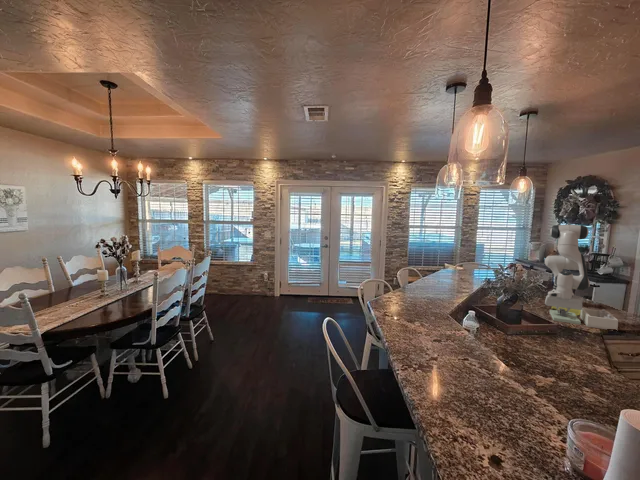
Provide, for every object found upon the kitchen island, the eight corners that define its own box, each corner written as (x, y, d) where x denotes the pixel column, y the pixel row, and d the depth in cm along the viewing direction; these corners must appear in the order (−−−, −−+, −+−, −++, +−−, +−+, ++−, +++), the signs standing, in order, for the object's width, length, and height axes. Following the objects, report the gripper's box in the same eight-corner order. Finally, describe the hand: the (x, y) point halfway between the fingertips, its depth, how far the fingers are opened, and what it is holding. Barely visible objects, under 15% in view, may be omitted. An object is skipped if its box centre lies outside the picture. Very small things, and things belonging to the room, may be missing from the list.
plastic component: (581, 309, 213) (582, 306, 206) (579, 318, 212) (580, 316, 205) (548, 301, 227) (547, 299, 220) (546, 310, 225) (545, 308, 218)
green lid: (549, 312, 214) (549, 304, 213) (574, 315, 206) (574, 308, 206) (553, 320, 197) (554, 312, 196) (580, 324, 190) (581, 316, 189)
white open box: (580, 317, 203) (581, 305, 202) (607, 321, 196) (608, 308, 195) (587, 326, 186) (588, 313, 185) (617, 331, 179) (618, 317, 178)
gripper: (582, 295, 198) (580, 314, 199) (545, 291, 209) (544, 309, 210) (584, 297, 192) (583, 317, 194) (546, 293, 203) (545, 312, 205)
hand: (562, 313), depth 202 cm, fingers closed on green lid, 2 cm apart
